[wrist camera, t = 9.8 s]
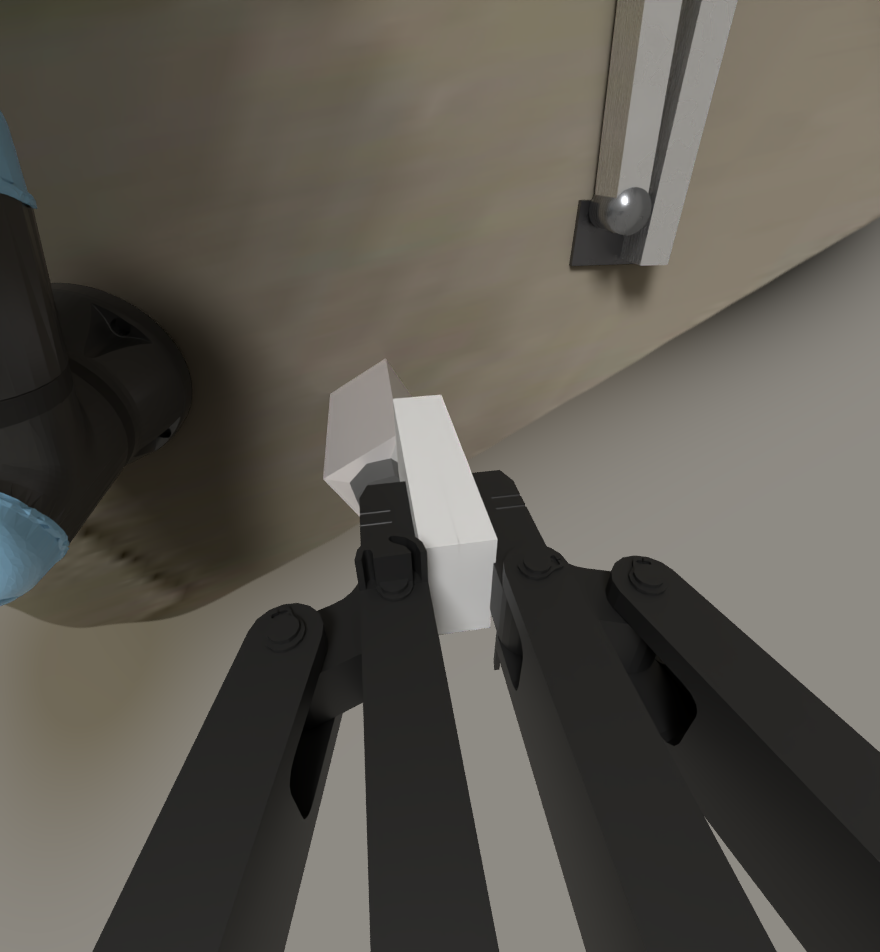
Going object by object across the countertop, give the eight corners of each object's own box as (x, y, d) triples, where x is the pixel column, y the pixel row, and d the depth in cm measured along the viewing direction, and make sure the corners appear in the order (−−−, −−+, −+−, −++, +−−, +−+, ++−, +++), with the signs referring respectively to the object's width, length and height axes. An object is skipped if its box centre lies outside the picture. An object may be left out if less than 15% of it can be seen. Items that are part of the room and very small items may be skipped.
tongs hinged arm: (586, 230, 39) (608, 237, 35) (642, -268, 25) (687, -333, 21) (621, 227, 39) (646, 233, 36) (696, -267, 25) (749, -331, 22)
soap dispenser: (440, 397, 46) (496, 547, 29) (368, 440, 48) (380, 608, 30) (406, 345, 43) (446, 479, 25) (330, 393, 44) (317, 553, 26)
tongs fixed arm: (569, 264, 41) (589, 274, 37) (647, -261, 25) (693, -326, 22) (646, 262, 42) (672, 271, 38) (768, -246, 26) (830, -306, 23)
